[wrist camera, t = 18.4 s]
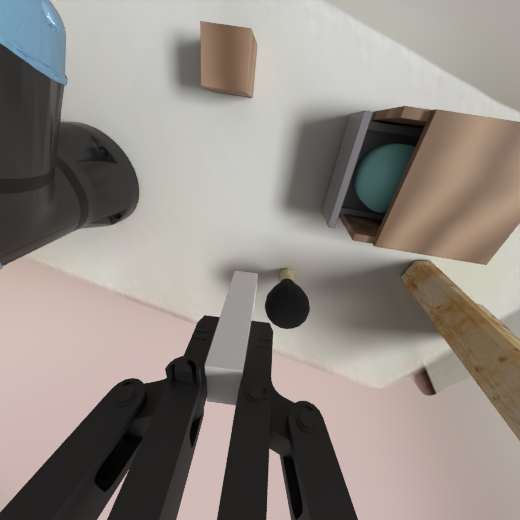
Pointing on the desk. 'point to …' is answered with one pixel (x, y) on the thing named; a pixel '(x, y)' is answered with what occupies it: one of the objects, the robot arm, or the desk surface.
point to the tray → (350, 153)
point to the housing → (450, 188)
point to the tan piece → (471, 337)
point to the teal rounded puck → (381, 174)
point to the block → (228, 59)
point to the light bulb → (287, 302)
